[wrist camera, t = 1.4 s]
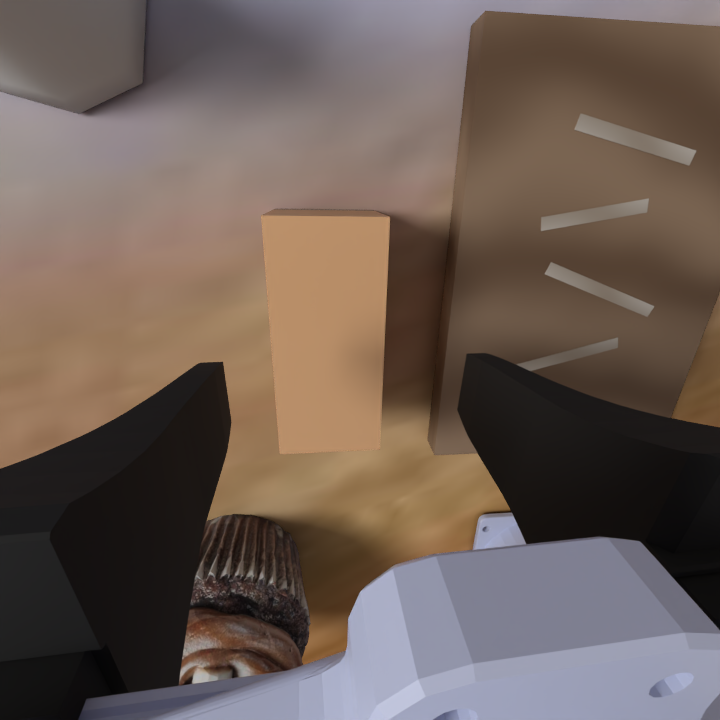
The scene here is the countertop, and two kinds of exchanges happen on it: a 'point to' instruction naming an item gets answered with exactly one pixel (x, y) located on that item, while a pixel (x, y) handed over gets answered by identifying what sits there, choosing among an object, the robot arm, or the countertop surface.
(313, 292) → the block
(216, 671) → the cupcake
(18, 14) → the flask
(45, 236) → the countertop surface
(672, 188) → the board
